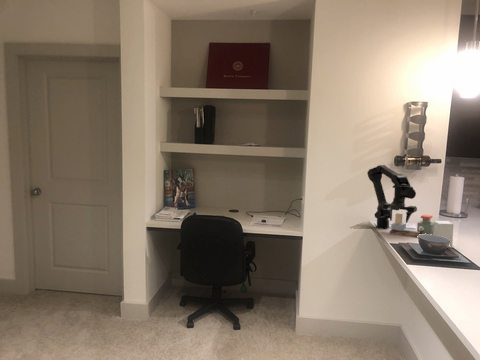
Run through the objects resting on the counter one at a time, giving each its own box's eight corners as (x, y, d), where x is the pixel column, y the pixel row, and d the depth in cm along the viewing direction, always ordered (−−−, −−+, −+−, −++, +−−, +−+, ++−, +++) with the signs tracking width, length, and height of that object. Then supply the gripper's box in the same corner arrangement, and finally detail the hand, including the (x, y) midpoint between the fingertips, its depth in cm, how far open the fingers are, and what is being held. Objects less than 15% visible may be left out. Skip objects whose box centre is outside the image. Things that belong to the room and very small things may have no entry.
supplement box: (452, 247, 193) (453, 224, 191) (437, 247, 194) (438, 223, 193) (447, 243, 200) (448, 220, 198) (433, 243, 201) (434, 220, 200)
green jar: (416, 232, 223) (417, 222, 222) (420, 230, 228) (421, 220, 228) (431, 234, 218) (431, 224, 217) (434, 232, 223) (435, 222, 222)
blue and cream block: (391, 228, 222) (391, 214, 221) (395, 226, 227) (396, 212, 226) (401, 230, 218) (401, 215, 217) (405, 228, 223) (406, 213, 222)
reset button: (420, 226, 223) (420, 216, 222) (423, 224, 226) (423, 214, 225) (429, 227, 219) (429, 217, 218) (432, 225, 223) (432, 215, 222)
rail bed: (389, 233, 223) (389, 226, 223) (393, 230, 228) (394, 224, 228) (420, 238, 211) (421, 231, 210) (424, 235, 216) (425, 229, 215)
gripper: (378, 196, 221) (377, 221, 223) (411, 199, 208) (410, 226, 210) (386, 194, 229) (385, 218, 231) (417, 197, 216) (416, 223, 218)
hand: (398, 221), depth 222 cm, fingers open, 9 cm apart
